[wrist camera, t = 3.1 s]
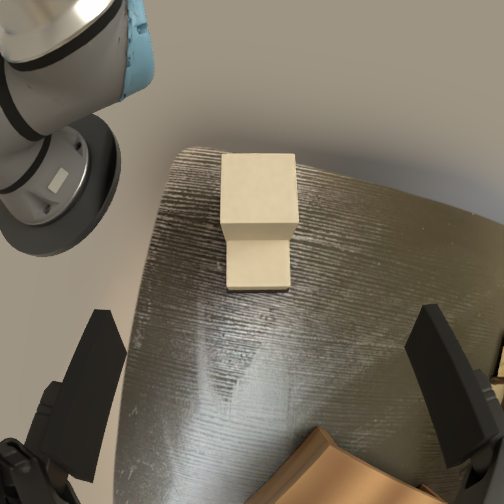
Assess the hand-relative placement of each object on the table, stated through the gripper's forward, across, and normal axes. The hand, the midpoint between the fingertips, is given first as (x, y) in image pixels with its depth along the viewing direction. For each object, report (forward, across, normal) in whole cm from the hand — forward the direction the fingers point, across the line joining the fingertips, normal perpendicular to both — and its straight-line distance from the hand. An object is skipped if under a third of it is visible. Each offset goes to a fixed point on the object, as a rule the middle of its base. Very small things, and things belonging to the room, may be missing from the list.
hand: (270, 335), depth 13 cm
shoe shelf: (-1, +10, -31) cm, 32 cm away
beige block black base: (+21, 0, -8) cm, 22 cm away
